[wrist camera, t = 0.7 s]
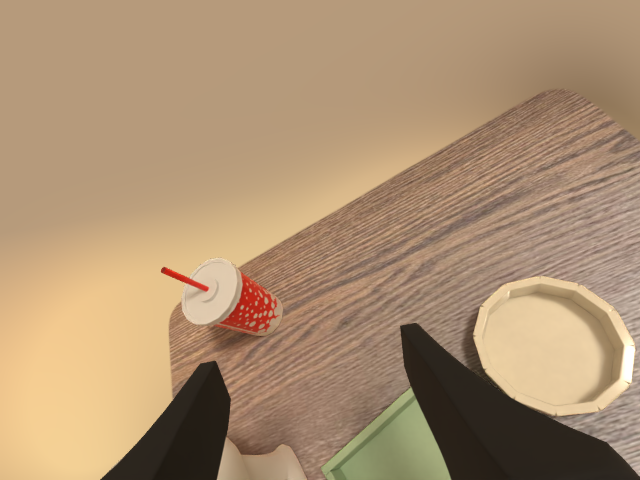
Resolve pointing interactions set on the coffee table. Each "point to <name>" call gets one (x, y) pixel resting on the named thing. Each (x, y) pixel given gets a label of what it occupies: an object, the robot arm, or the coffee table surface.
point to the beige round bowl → (554, 346)
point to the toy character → (259, 465)
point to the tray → (391, 448)
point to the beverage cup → (228, 299)
